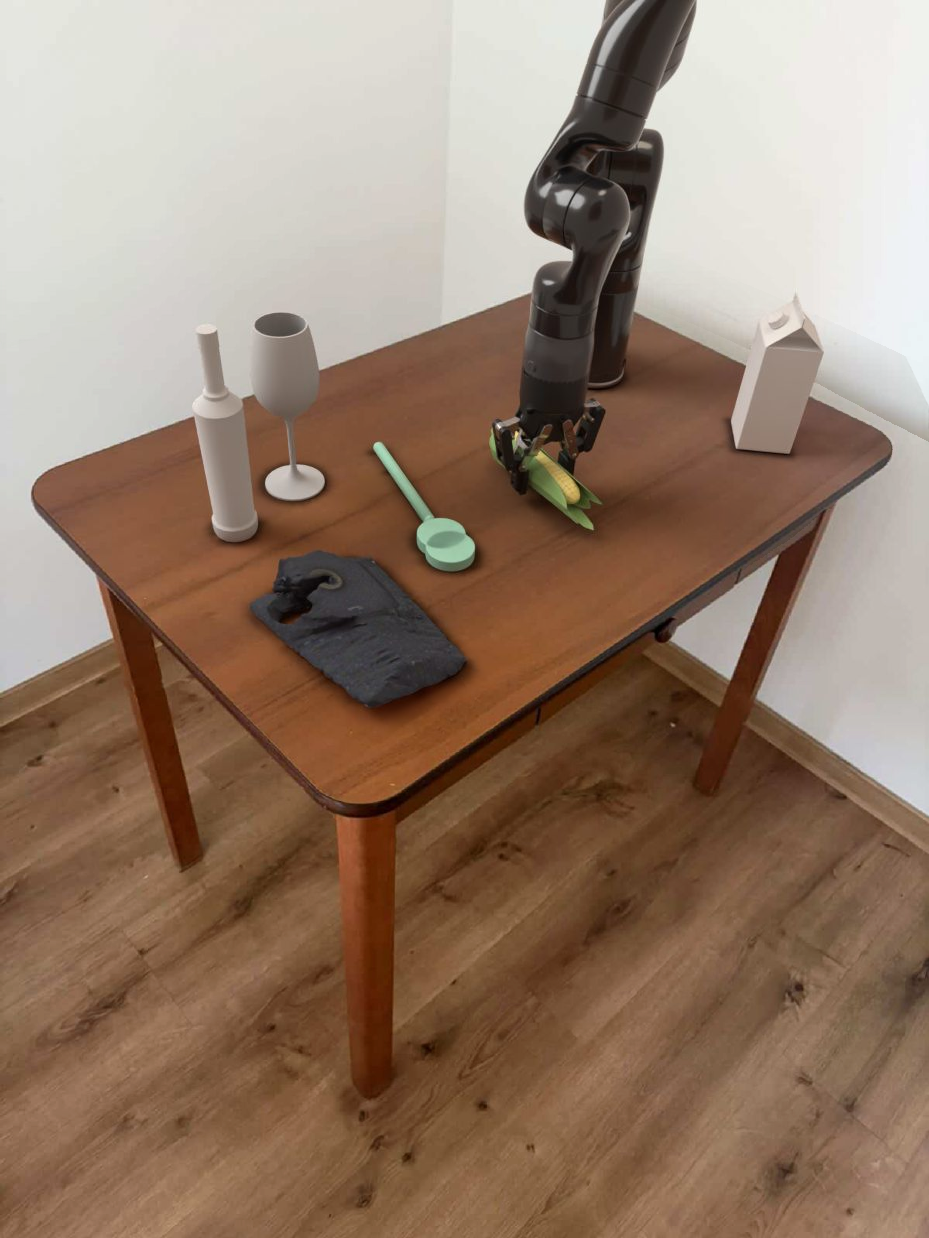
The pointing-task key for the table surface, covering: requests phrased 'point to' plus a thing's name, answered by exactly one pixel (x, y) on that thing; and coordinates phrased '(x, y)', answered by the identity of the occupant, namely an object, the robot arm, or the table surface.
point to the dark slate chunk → (357, 627)
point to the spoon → (432, 525)
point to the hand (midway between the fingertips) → (540, 485)
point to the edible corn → (555, 484)
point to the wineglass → (286, 391)
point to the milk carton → (777, 380)
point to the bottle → (223, 446)
